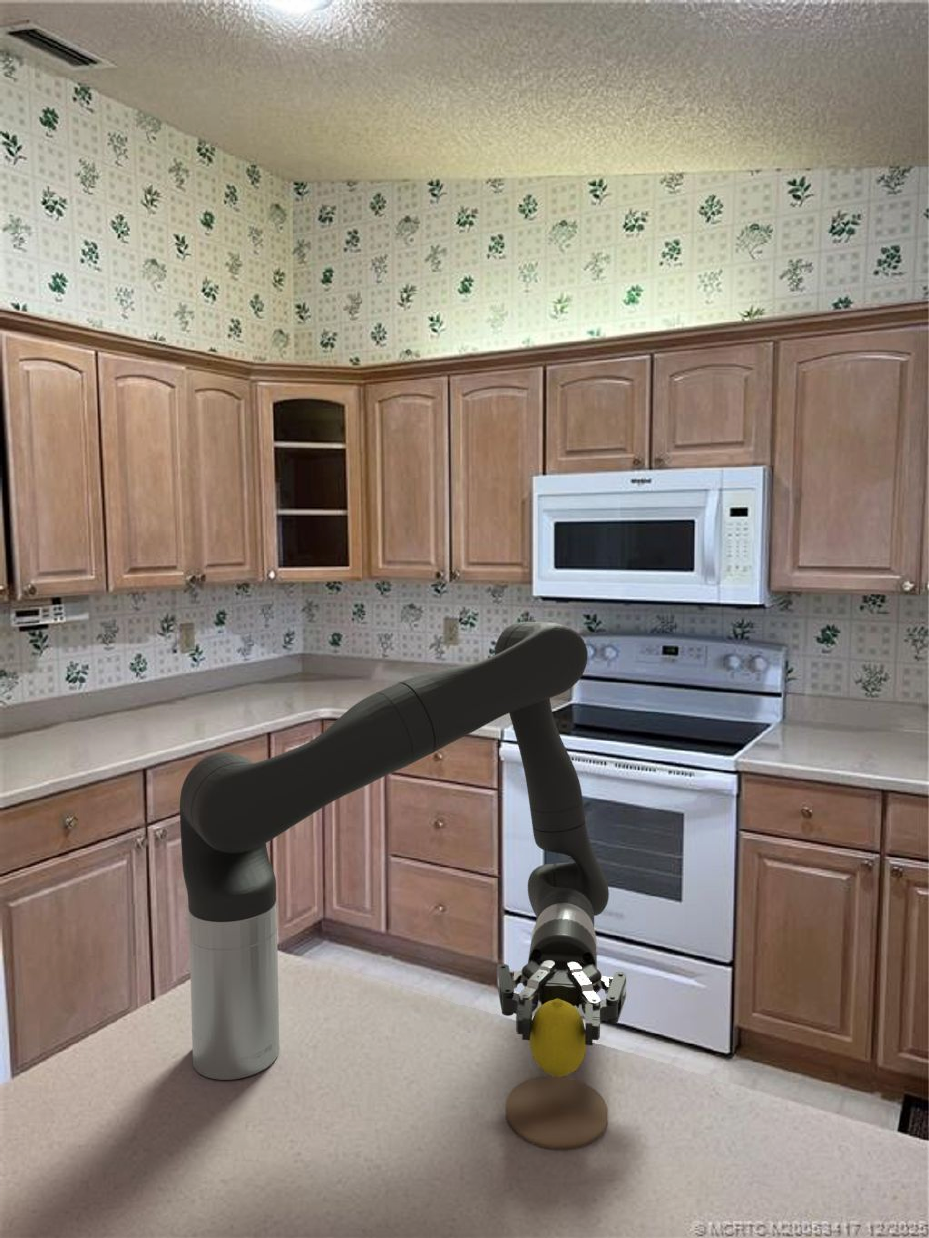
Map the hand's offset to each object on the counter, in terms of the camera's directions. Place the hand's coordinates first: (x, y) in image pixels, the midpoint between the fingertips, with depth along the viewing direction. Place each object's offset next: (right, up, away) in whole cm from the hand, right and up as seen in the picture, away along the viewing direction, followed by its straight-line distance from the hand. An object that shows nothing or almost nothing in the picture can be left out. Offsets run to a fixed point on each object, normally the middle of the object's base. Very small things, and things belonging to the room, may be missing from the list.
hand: (557, 1033), depth 82 cm
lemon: (0, -6, +3) cm, 7 cm away
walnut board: (0, -10, +3) cm, 10 cm away
